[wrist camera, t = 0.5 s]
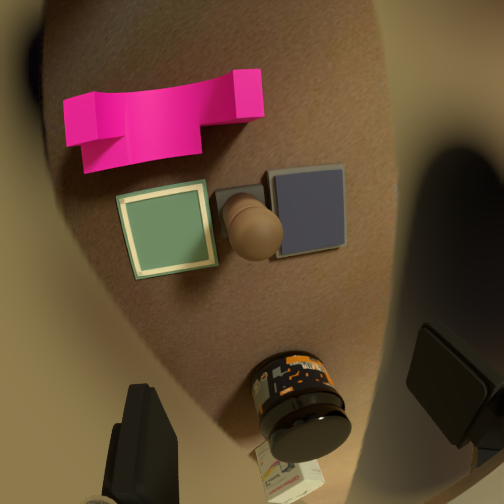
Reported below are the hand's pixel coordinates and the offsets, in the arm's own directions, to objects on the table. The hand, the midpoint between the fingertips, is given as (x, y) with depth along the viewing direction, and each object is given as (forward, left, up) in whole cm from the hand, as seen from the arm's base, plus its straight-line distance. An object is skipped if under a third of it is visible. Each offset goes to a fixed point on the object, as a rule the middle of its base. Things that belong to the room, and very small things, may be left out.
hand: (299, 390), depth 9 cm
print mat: (0, -6, -23) cm, 24 cm away
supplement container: (+23, +4, -23) cm, 33 cm away
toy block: (-10, -4, -23) cm, 26 cm away
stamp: (-1, +1, -23) cm, 23 cm away
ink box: (+39, +3, -23) cm, 46 cm away
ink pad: (0, +8, -23) cm, 24 cm away
